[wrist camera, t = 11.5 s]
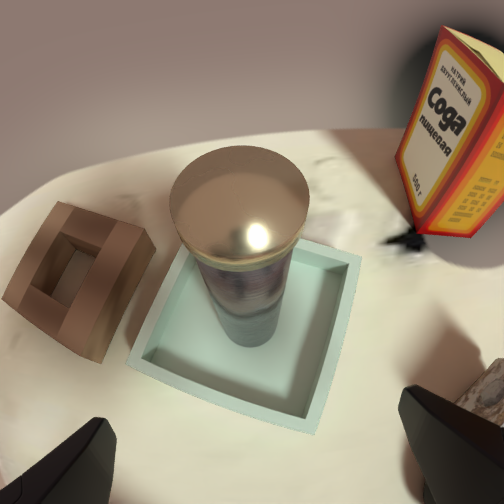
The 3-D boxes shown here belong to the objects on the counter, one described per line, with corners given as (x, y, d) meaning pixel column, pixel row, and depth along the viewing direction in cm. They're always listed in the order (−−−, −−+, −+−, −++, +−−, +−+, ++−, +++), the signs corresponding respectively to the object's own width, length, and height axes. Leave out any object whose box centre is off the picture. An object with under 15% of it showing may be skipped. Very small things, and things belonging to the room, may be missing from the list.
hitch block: (100, 364, 19) (80, 356, 17) (21, 311, 21) (1, 299, 18) (156, 249, 24) (144, 228, 21) (72, 219, 25) (57, 201, 23)
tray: (307, 431, 17) (314, 435, 15) (139, 369, 19) (125, 364, 17) (352, 272, 22) (362, 256, 20) (204, 228, 24) (199, 210, 22)
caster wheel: (432, 517, 14) (386, 451, 17) (526, 429, 14) (494, 352, 17) (463, 555, 7) (420, 491, 10) (571, 442, 8) (548, 353, 11)
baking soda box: (394, 156, 28) (442, 21, 14) (444, 165, 28) (500, 47, 14) (416, 233, 24) (508, 81, 10) (470, 237, 24) (564, 114, 10)
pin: (269, 358, 19) (287, 274, 7) (211, 338, 20) (145, 230, 8) (287, 303, 21) (322, 162, 9) (232, 286, 21) (205, 136, 10)
